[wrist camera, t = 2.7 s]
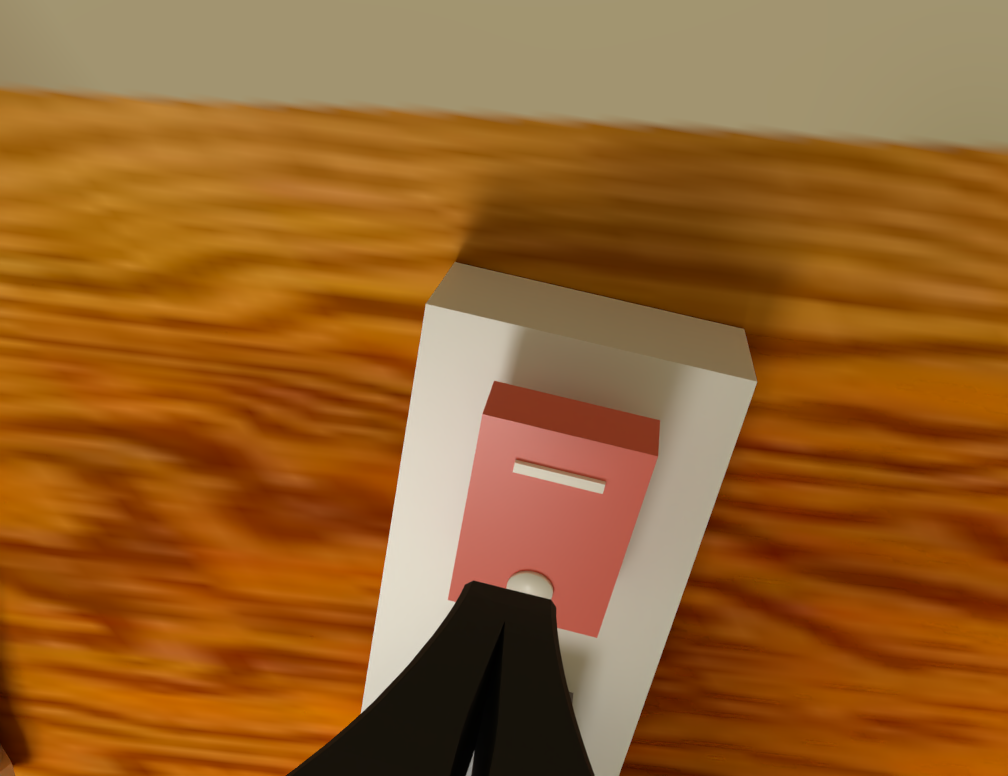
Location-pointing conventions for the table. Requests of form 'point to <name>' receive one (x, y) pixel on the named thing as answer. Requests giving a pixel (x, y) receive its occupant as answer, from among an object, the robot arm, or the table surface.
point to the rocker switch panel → (583, 377)
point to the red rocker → (554, 500)
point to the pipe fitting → (5, 764)
